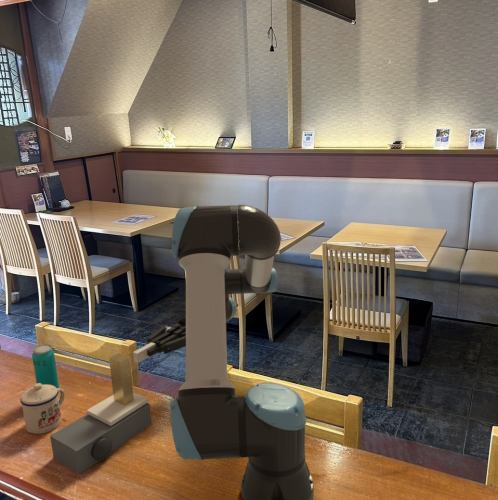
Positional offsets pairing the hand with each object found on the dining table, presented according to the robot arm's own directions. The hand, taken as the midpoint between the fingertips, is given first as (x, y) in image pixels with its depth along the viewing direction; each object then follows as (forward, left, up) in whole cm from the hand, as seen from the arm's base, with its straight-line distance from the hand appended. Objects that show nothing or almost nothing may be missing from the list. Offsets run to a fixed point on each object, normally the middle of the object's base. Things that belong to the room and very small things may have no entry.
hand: (135, 357), depth 130 cm
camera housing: (-3, +12, -17) cm, 21 cm away
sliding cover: (-2, +7, -11) cm, 13 cm away
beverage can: (+27, +14, -17) cm, 35 cm away
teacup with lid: (+15, +19, -17) cm, 30 cm away
